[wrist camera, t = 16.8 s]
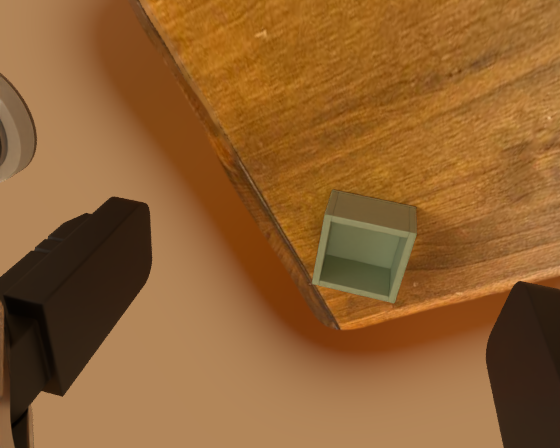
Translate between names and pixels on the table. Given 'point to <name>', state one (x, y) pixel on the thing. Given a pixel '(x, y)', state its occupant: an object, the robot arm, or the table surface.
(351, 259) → the caddy
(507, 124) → the table surface
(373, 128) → the table surface
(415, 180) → the table surface
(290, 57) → the table surface
